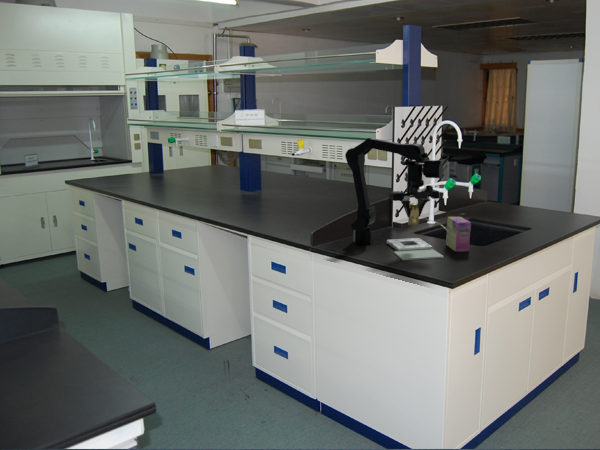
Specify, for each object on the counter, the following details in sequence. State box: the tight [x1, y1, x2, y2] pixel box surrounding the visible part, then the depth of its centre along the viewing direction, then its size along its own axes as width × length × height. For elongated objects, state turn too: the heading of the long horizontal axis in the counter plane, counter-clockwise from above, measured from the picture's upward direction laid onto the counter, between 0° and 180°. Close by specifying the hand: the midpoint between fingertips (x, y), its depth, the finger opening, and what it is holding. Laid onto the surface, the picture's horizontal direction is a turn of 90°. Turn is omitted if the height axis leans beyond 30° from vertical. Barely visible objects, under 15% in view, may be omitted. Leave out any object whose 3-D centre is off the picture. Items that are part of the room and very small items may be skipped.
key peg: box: [407, 202, 420, 226], centre depth 203 cm, size 4×4×8 cm
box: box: [445, 216, 472, 253], centre depth 206 cm, size 10×6×12 cm, turn 5°
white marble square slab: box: [386, 237, 433, 251], centre depth 210 cm, size 14×14×2 cm
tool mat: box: [393, 248, 444, 261], centre depth 198 cm, size 16×10×1 cm, turn 99°
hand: (413, 216), depth 203 cm, fingers closed on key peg, 4 cm apart
